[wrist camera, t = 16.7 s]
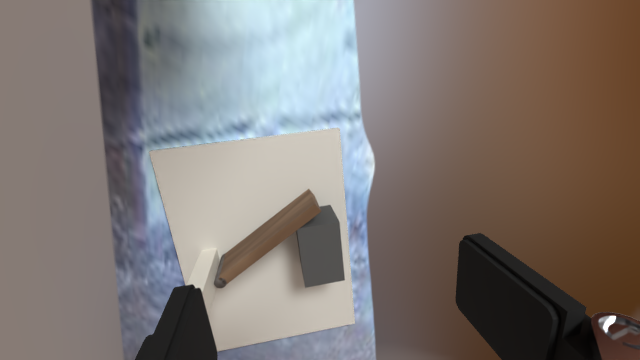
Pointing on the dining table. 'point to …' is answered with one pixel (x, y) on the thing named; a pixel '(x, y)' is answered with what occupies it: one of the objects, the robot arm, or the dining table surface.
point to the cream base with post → (244, 218)
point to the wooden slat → (266, 237)
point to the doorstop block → (321, 249)
